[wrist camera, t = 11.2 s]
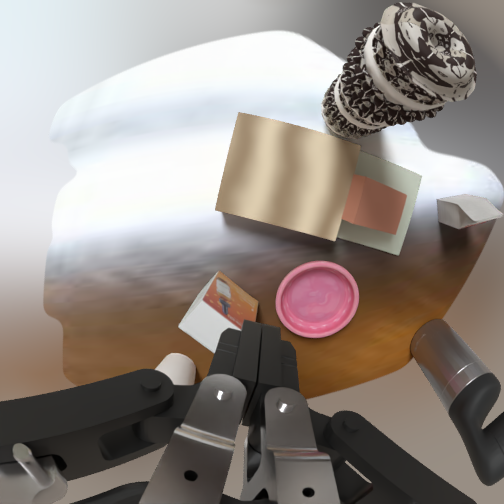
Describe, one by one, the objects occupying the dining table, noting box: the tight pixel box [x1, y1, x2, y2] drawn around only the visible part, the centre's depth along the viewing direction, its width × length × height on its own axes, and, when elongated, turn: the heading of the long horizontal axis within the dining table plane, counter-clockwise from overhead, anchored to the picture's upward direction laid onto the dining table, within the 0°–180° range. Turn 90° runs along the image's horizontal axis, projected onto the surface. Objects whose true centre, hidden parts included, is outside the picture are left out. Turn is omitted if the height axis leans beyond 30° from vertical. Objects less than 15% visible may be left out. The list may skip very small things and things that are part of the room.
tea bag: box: [437, 194, 503, 229], centre depth 31 cm, size 4×7×10 cm, turn 104°
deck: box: [215, 112, 361, 241], centre depth 35 cm, size 16×13×4 cm
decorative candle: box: [321, 3, 477, 139], centre depth 21 cm, size 9×9×25 cm
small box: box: [178, 271, 258, 354], centre depth 37 cm, size 8×6×10 cm
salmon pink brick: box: [341, 174, 407, 235], centre depth 34 cm, size 9×6×2 cm, turn 76°
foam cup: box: [155, 353, 196, 385], centre depth 41 cm, size 10×9×13 cm
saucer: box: [276, 261, 359, 338], centre depth 40 cm, size 12×12×3 cm
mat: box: [337, 151, 422, 256], centre depth 36 cm, size 12×13×1 cm
